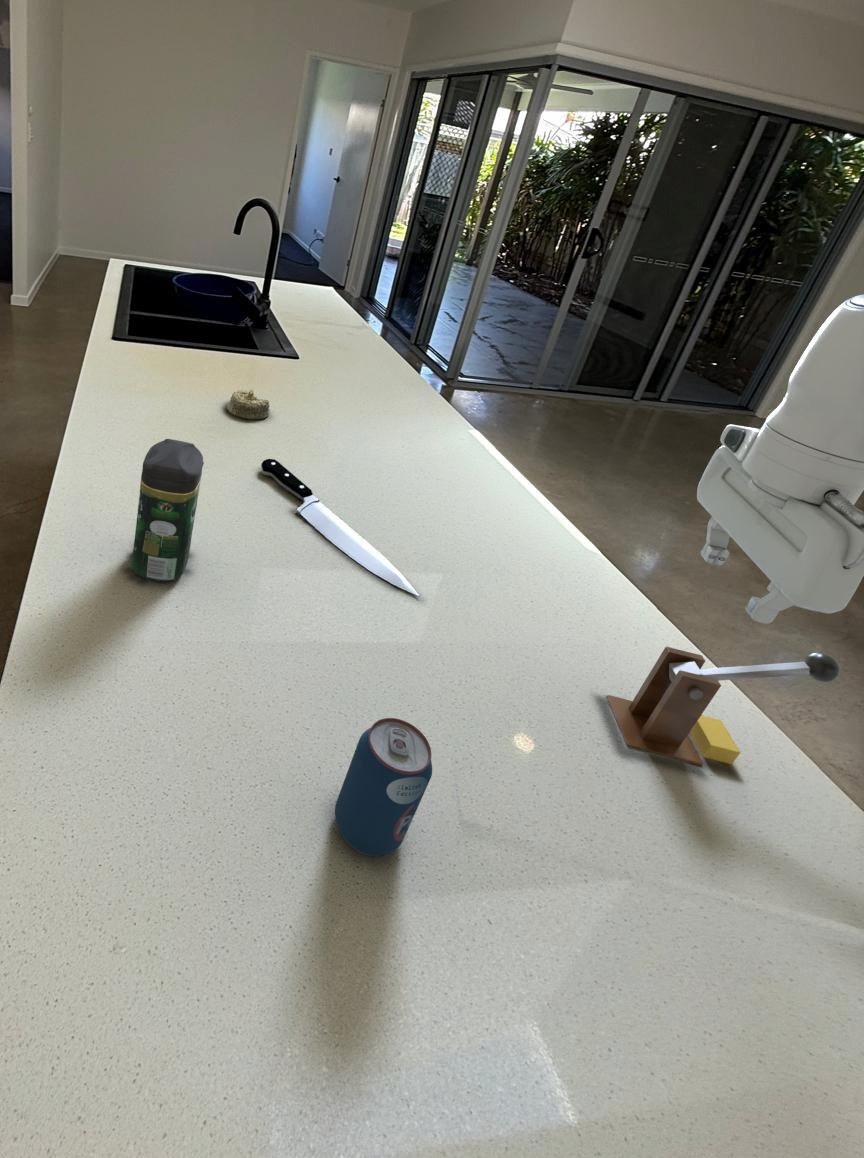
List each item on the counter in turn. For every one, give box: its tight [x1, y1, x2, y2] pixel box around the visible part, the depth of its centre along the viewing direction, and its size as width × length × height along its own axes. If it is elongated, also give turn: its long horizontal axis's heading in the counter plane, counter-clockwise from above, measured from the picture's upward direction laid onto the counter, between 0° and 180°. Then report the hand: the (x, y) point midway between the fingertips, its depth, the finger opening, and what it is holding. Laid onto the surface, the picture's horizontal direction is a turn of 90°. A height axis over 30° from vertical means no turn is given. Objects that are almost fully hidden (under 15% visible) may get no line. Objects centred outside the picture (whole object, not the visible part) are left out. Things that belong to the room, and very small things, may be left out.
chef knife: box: [260, 458, 420, 597], centre depth 112 cm, size 5×41×2 cm, turn 36°
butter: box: [689, 714, 741, 765], centre depth 82 cm, size 4×5×3 cm
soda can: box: [334, 717, 433, 857], centre depth 61 cm, size 7×7×12 cm
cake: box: [226, 389, 271, 420], centre depth 149 cm, size 10×10×5 cm
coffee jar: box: [130, 438, 205, 583], centre depth 91 cm, size 10×8×19 cm
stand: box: [605, 646, 722, 766], centre depth 80 cm, size 9×8×12 cm
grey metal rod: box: [669, 651, 841, 683], centre depth 77 cm, size 17×3×3 cm, turn 81°
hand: (731, 587), depth 66 cm, fingers open, 8 cm apart
